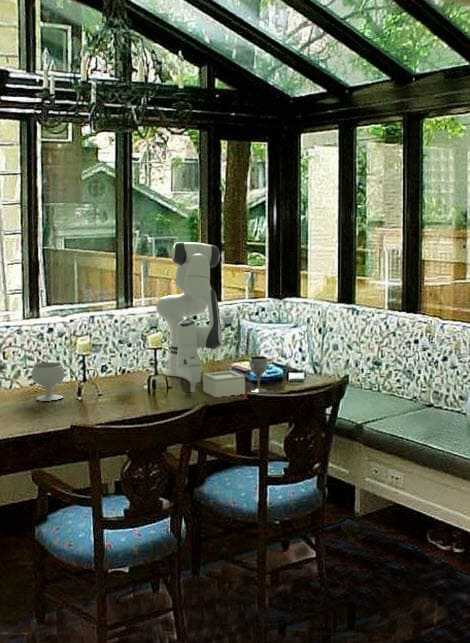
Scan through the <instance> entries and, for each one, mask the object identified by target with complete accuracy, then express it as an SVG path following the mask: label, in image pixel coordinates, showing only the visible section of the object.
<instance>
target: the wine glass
mask: <svg viewBox="0 0 470 643" xmlns="http://www.w3.org/2000/svg"><path fill="white" fill-rule="evenodd" d="M249 368H250V371H251V372H252V373H253V375H255V377H256V379H257V388H255V389H251V390H250V392H251V393H254V392H255V393H256V394H261V393H266V392H268V391H267V389H265V388H261V387H260V383H261V378H262V376H263V374H264V373H265V372H266V371H267V368H268V357H267V356H264V355H256V356H255V355H254V356H250V357H249Z"/></svg>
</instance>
